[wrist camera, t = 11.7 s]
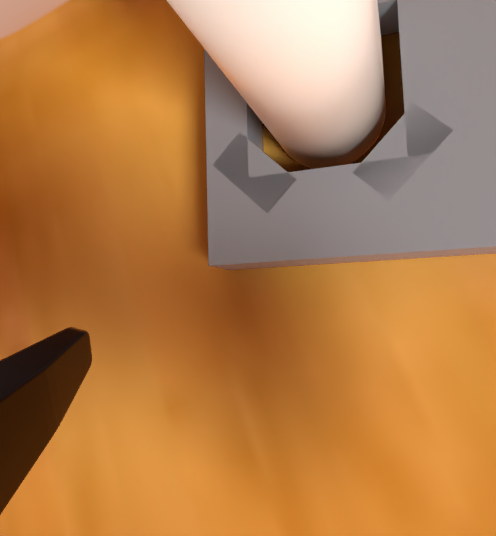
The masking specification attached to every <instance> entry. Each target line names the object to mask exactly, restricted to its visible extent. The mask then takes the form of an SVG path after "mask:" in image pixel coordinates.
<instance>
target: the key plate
mask: <svg viewBox="0 0 496 536" xmlns="http://www.w3.org/2000/svg"><path fill="white" fill-rule="evenodd" d="M377 2H378V12H379V22H380V31H381V36H382V35H386V34H391V33H396V32H399V46H400V62H401V77H402V92H403V108H404V115H403V116H402V117H401V118H400V119H399V120H398V121H397V123H396V124H395V125H394V126H393V127H392V128H391V129H390V131H389V132H388V133H387V134H386V135H385V136H384V137H383V139H382V140H381V141H380V142H379V143H378V144H377V145H376V147H375V148H374V149H373V150H372V151H371V152H370V153H369V155H368V156H367V157H366V158H365V159H364V160H363V161H362V162H361V163H355V164H347V165H339V166H332V167H324V168H317V169H309V170H302V171H294V172H287V171H286V170H284V169H283V168H282V167H281V166H280V165H278V164H277V163H276V162H275V161H274V160H272V159H271V158H270V157H269V156H268V155H266V154H265V153H264V152H263V128H262V121H261V120H260V119H259V117H258V116H257V115H256V114H255V112H254V111H253V110H252V109H251V107H250V106H249V105H248V104H247V102H246V101H245V100H244V98H243V97H242V96H241V95H240V93H239V92H238V91H237V90H236V88H235V87H234V86H233V84H232V83H231V82H230V81H229V79H228V78H227V77H226V76H225V74H224V73H223V72H222V70H221V69H220V68H219V67H218V65H217V64H216V63H215V62H214V60H213V59H212V58H211V56H210V55H209V54H208V53H207V51H206V50H205V49H204V65H205V114H206V163H207V212H208V261H209V266H212V267H217V268H221V269H226V270H236V269H252V268H268V267H284V266H300V265H315V264H331V263H347V262H363V261H379V260H395V259H410V258H426V257H442V256H458V255H474V254H490V253H496V0H377Z"/></svg>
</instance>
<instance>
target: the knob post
mask: <svg viewBox="0 0 496 536" xmlns="http://www.w3.org/2000/svg"><path fill="white" fill-rule="evenodd" d="M166 1H167V2H168V3H169V4H170V6H171V7H172V8H173V9H174V11H175V12H176V13H177V15H178V16H179V17H180V18H181V20H182V21H183V22H184V23H185V25H186V26H187V27H188V29H189V30H190V31H191V32H192V34H193V35H194V36H195V37H196V39H197V40H198V41H199V42H200V44H201V45H202V46H203V48H204V49H205V50H206V51H207V53H208V54H209V55H210V56H211V58H212V59H213V60H214V62H215V63H216V64H217V65H218V67H219V68H220V69H221V70H222V72H223V73H224V74H225V76H226V77H227V78H228V79H229V81H230V82H231V83H232V84H233V86H234V87H235V88H236V90H237V91H238V92H239V93H240V95H241V96H242V97H243V98H244V100H245V101H246V102H247V104H248V105H249V106H250V107H251V109H252V110H253V111H254V112H255V114H256V115H257V116H258V117H259V119H260V120H261V121H262V123H263V124H264V125H265V126H266V128H267V129H268V130H269V131H270V133H271V134H272V135H273V137H274V138H275V139H276V140H277V142H278V143H279V144H280V145H281V147H282V148H283V149H284V151H285V152H286V153H287V154H288V155H289V156H290V157H291V158H292V159H293V160H295V161H296V162H297V163H299V164H301V165H303V166H306V167H309V168H313V169H317V168H324V167H332V166H339V165H347V164H350V163H352V162H354V161H355V160H357V159H359V158H360V157H361V156H363V155H364V154H365V153H366V152H367V151H368V150H369V149H370V148H371V147H372V146H373V144H374V143H375V142H376V140H377V138H378V137H379V135H380V133H381V131H382V128H383V125H384V122H385V116H386V99H385V83H384V66H383V50H382V41H381V31H380V22H379V12H378V2H377V0H166Z"/></svg>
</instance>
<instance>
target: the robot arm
mask: <svg viewBox="0 0 496 536" xmlns="http://www.w3.org/2000/svg"><path fill="white" fill-rule="evenodd" d="M91 362H92V353H91V345H90V337H89V334H88V332H87V331H84V330H81V329H77V328H73V327H69V328H66V329H64V330H62V331H60V332H58V333H56V334H54V335H52V336H50V337H48V338H46V339H44V340H42V341H39V342H37V343H35V344H33V345H31V346H29V347H27V348H25V349H23V350H21V351H19V352H17V353H15V354H13V355H11V356H9V357H7V358H5V359H3V360H1V361H0V514H1V513H2V511H3V510H4V508H5V507H6V505H7V504H8V502H9V501H10V499H11V498H12V496H13V495H14V493H15V492H16V490H17V489H18V487H19V486H20V484H21V483H22V481H23V480H24V478H25V477H26V476H27V474H28V473H29V471H30V470H31V468H32V467H33V465H34V464H35V462H36V461H37V459H38V458H39V456H40V455H41V453H42V452H43V450H44V449H45V447H46V446H47V444H48V443H49V441H50V440H51V438H52V436H53V435H54V433H55V432H56V430H57V429H58V427H59V425H60V423H61V421H62V420H63V418H64V416H65V414H66V412H67V410H68V408H69V406H70V404H71V403H72V401H73V399H74V397H75V395H76V393H77V391H78V389H79V387H80V385H81V383H82V382H83V380H84V378H85V376H86V374H87V372H88V370H89V368H90V365H91Z"/></svg>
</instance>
